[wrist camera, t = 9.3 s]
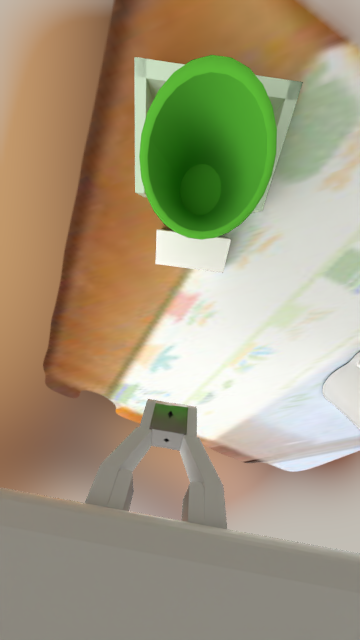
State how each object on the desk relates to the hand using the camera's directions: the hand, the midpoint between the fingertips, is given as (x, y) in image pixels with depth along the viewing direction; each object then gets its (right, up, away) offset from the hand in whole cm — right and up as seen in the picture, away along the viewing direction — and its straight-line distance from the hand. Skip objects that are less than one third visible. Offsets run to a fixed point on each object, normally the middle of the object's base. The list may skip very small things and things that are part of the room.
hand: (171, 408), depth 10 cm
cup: (+3, +21, +11) cm, 24 cm away
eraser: (+2, +16, +14) cm, 21 cm away
